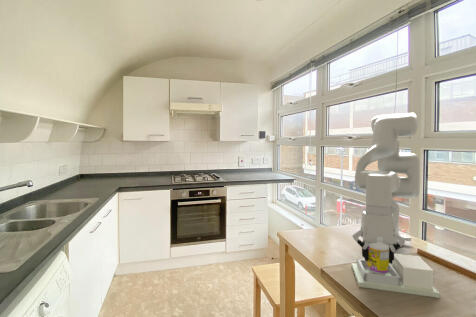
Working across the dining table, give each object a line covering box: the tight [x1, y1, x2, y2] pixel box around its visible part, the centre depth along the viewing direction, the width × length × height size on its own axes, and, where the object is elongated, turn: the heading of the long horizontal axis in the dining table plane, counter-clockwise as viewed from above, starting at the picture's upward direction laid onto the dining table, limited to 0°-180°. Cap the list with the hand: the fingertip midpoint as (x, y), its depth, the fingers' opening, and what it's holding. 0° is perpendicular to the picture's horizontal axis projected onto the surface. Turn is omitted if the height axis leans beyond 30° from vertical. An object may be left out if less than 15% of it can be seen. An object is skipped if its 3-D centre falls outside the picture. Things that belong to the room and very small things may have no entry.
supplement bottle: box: [367, 237, 389, 275], centre depth 80 cm, size 7×7×13 cm
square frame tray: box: [351, 253, 441, 299], centre depth 79 cm, size 22×13×8 cm, turn 74°
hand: (377, 260), depth 80 cm, fingers closed on supplement bottle, 6 cm apart
